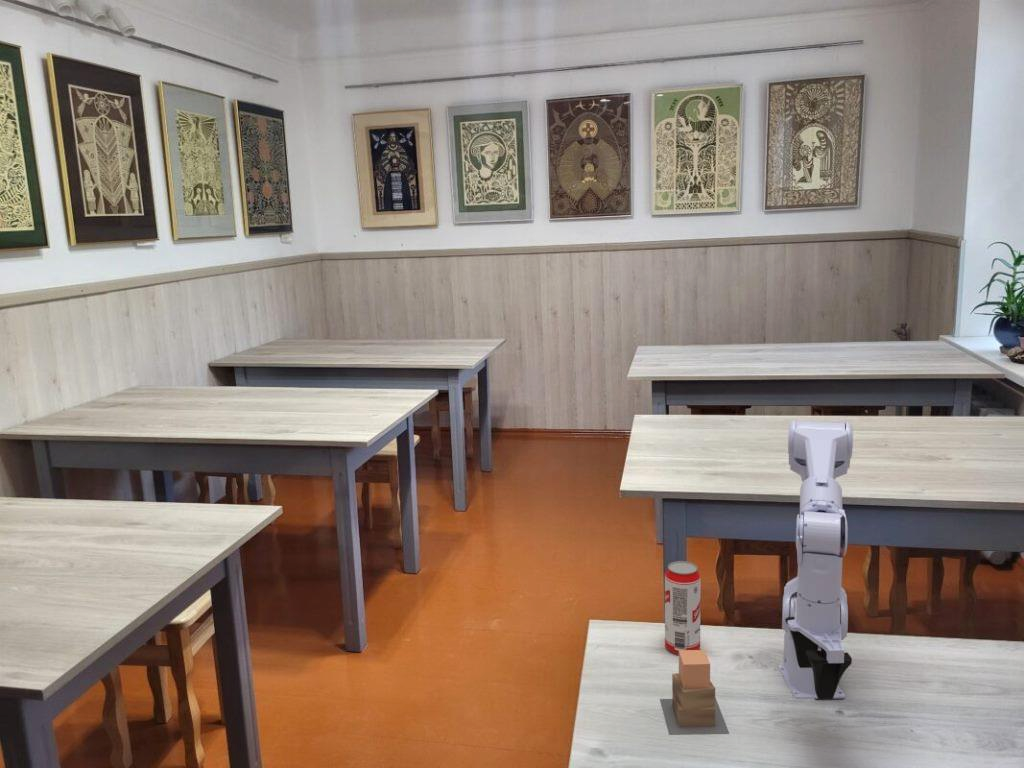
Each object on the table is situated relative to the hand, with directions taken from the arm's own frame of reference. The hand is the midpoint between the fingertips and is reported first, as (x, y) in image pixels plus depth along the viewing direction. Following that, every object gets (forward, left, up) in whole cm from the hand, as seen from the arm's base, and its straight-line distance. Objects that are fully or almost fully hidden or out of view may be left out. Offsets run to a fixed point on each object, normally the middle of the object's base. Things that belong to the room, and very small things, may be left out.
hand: (815, 681), depth 112 cm
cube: (-7, -16, -4) cm, 18 cm away
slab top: (-7, -16, -7) cm, 19 cm away
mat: (-7, -16, -10) cm, 20 cm away
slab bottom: (-7, -16, -10) cm, 20 cm away
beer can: (-27, -14, -11) cm, 32 cm away
